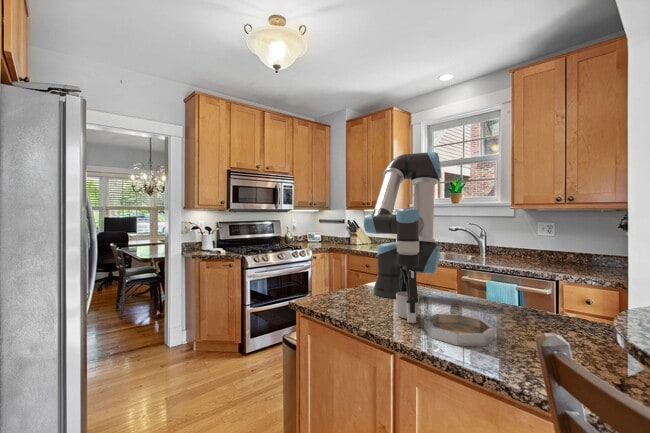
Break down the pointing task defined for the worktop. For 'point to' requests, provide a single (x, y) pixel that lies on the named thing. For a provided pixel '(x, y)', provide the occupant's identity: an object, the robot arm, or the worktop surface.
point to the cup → (403, 304)
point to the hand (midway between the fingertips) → (407, 316)
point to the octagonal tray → (459, 329)
